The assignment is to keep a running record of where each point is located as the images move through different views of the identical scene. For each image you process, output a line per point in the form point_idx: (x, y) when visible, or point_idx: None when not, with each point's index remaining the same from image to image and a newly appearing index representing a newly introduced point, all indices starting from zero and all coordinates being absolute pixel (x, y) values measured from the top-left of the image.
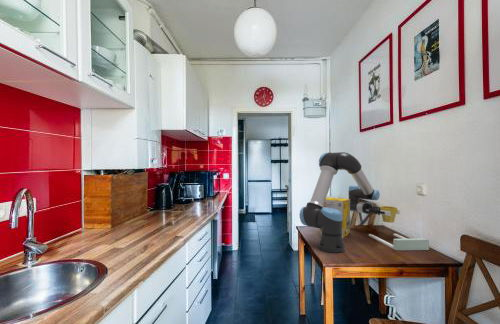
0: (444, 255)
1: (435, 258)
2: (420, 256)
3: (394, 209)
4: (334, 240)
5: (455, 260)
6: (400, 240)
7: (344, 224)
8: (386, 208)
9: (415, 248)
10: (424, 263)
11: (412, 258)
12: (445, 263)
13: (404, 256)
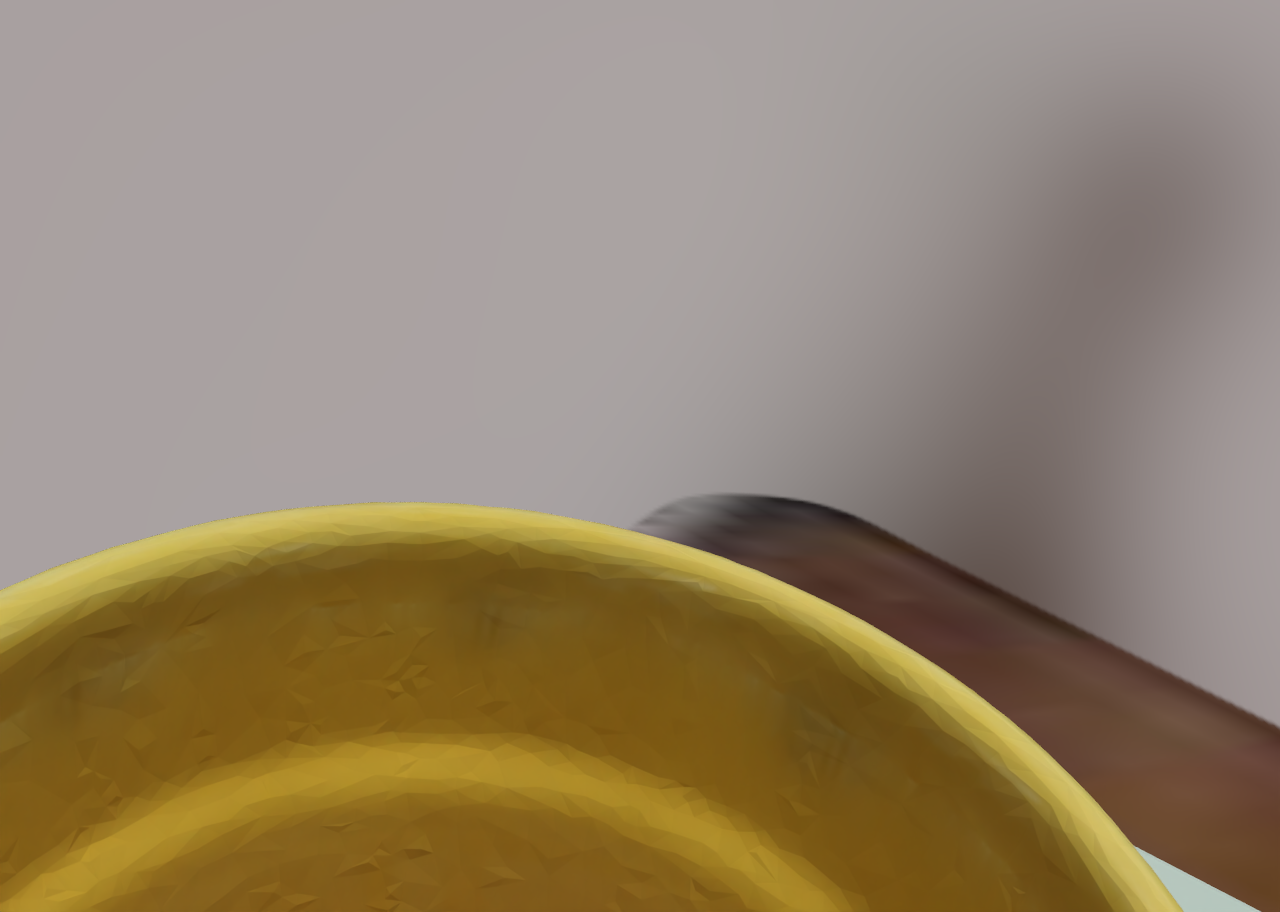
0: None
1: (889, 630)
2: None
3: (720, 599)
4: None
5: (744, 513)
6: (1168, 869)
7: None
8: (1162, 899)
9: None
10: (1179, 680)
11: (1191, 790)
12: (944, 563)
13: (1249, 875)
